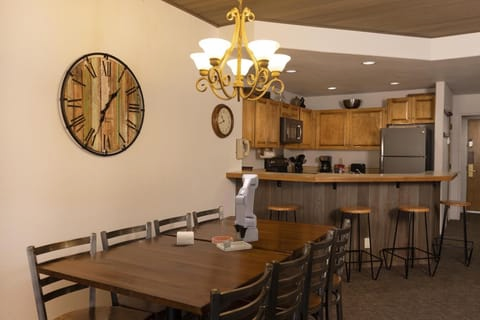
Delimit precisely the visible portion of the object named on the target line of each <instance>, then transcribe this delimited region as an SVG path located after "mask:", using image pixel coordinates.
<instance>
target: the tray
mask: <svg viewBox="0 0 480 320" xmlns="http://www.w3.org/2000/svg"><path fill="white" fill-rule="evenodd" d="M215 247H216V248H218V249H220V250H221V251H223V252H232V251H239V250H240V251H241V250H243V251H244V250H249V249H253V245H252V244H250V243H248V242H246V241H243V240H240V241H233V242H231V247H230V248H224V247H223V243H218V244H216V245H215Z"/></svg>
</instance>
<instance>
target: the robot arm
mask: <svg viewBox="0 0 480 320" xmlns="http://www.w3.org/2000/svg"><path fill="white" fill-rule="evenodd" d="M241 180H242V184H243V185H242V187H240V188H239V191H238V194H237V195H236V196H235V197H234V204H235V220H234V225H233V226H234V229H235V231H236V233H237V232H239V231H240V237H241V238H244V239H242V241H244V242H246V243H248V242H250V243H251V242H256V241H259V231H258V230H259V229H258V227H257V216H256V214H254V201H255V193H256V192H255V191H256V189H257V188H258V186H259V175H258V174H250V173H249V174H245V173H244V174H242V177H241Z"/></svg>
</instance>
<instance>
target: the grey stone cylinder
mask: <svg viewBox="0 0 480 320" xmlns="http://www.w3.org/2000/svg"><path fill="white" fill-rule="evenodd" d="M236 239H237V240H243V239H244V238H241V237H240V231H239V232H236Z"/></svg>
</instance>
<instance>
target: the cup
mask: <svg viewBox="0 0 480 320" xmlns="http://www.w3.org/2000/svg"><path fill="white" fill-rule="evenodd" d="M194 237H195V235H194V231H177V233H176V245H177V246H187V245H188V246H189V245H194V243H195V242H194V241H195V239H194Z"/></svg>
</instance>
